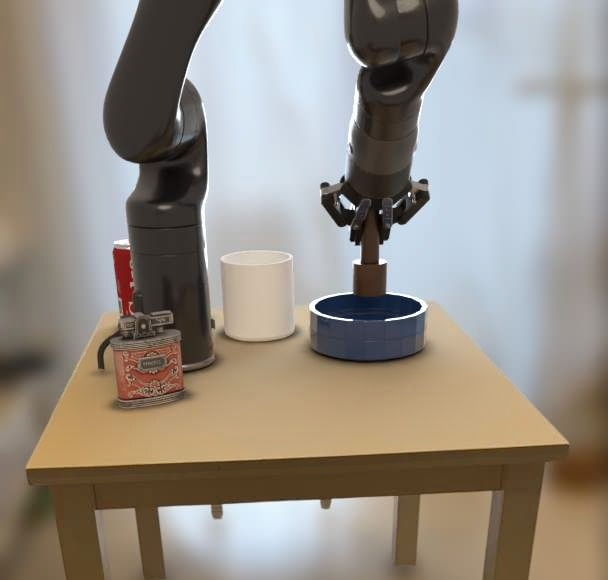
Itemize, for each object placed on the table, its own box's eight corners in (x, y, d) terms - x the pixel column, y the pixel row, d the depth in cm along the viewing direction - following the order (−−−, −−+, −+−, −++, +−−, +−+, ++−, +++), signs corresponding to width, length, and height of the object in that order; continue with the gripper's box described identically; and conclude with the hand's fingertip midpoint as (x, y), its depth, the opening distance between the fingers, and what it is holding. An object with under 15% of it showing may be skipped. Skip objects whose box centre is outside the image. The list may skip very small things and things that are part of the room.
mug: (308, 333, 125) (307, 258, 120) (246, 346, 120) (242, 268, 116) (263, 315, 134) (260, 244, 130) (204, 325, 130) (198, 253, 125)
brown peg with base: (369, 298, 113) (371, 181, 106) (345, 293, 116) (345, 178, 109) (393, 292, 116) (396, 177, 109) (369, 287, 119) (370, 174, 112)
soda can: (160, 321, 132) (152, 237, 127) (152, 331, 128) (143, 244, 122) (126, 321, 133) (117, 237, 127) (117, 330, 128) (106, 244, 123)
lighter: (123, 410, 100) (112, 322, 95) (114, 401, 102) (103, 314, 97) (190, 398, 103) (183, 311, 98) (180, 389, 105) (172, 305, 101)
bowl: (313, 366, 112) (313, 323, 110) (306, 332, 126) (306, 293, 123) (434, 362, 113) (436, 319, 110) (415, 329, 126) (416, 290, 124)
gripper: (441, 114, 99) (418, 212, 116) (316, 118, 99) (312, 216, 115) (448, 171, 97) (424, 262, 114) (321, 175, 97) (315, 266, 113)
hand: (367, 239), depth 115 cm, fingers closed on brown peg with base, 2 cm apart
